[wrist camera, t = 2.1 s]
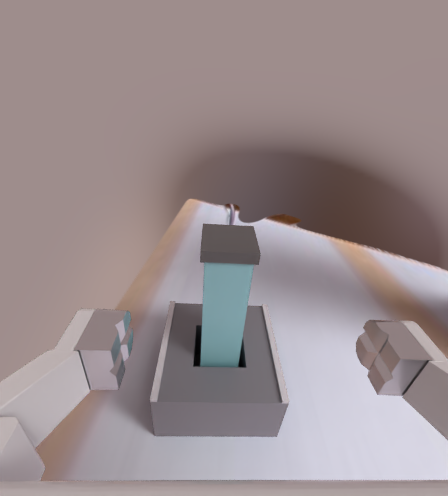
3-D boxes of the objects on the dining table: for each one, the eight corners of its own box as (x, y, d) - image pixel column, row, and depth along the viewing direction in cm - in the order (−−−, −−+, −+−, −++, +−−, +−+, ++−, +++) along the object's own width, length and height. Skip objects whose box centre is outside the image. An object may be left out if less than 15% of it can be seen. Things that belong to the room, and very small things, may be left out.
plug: (198, 356, 33) (203, 223, 23) (234, 357, 33) (253, 226, 24) (196, 392, 29) (200, 250, 20) (237, 392, 29) (260, 253, 20)
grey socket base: (171, 336, 36) (170, 301, 33) (259, 338, 37) (267, 304, 34) (154, 435, 26) (149, 399, 23) (276, 436, 27) (289, 401, 23)
